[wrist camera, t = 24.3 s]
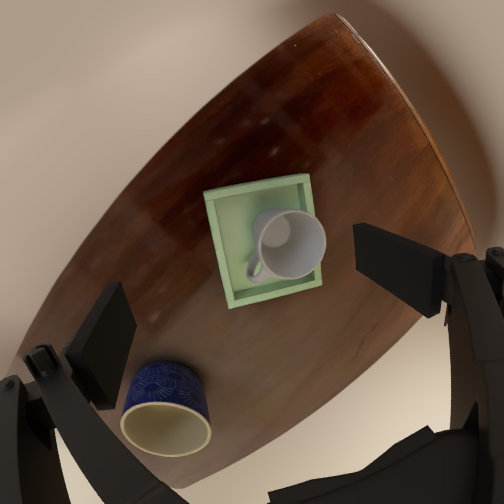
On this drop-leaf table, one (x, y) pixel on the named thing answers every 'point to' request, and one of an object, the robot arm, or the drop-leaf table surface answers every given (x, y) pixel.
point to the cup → (286, 244)
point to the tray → (240, 234)
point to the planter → (166, 411)
